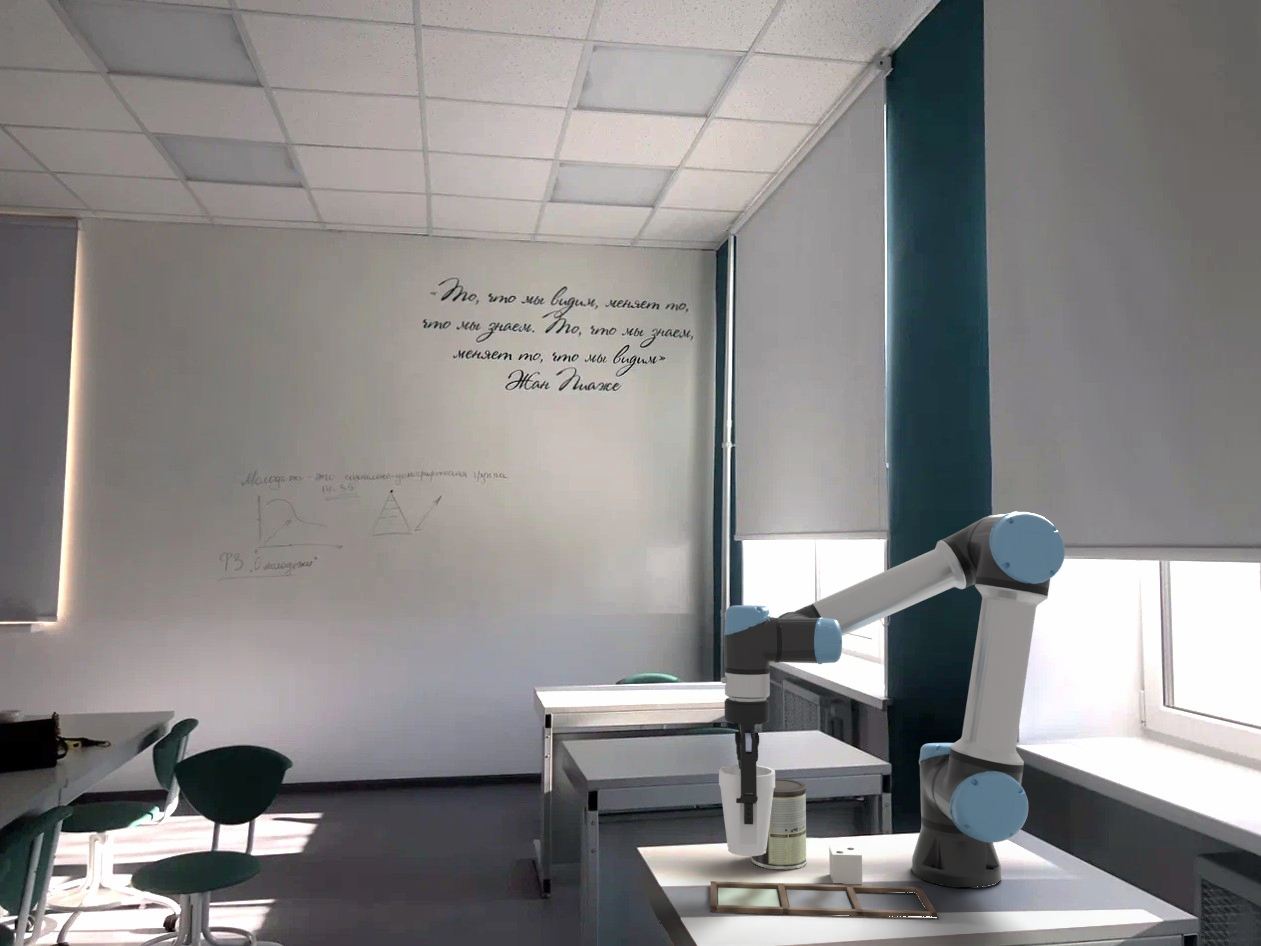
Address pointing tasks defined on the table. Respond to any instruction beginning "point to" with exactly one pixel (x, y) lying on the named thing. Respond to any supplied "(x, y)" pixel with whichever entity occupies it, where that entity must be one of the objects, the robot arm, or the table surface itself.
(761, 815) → the foam cup
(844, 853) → the white die
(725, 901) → the walnut frame
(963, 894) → the table surface
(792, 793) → the coffee can
